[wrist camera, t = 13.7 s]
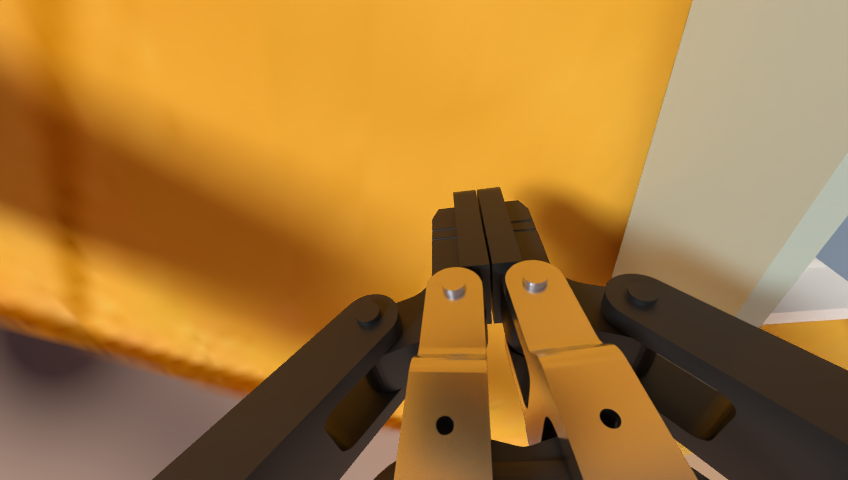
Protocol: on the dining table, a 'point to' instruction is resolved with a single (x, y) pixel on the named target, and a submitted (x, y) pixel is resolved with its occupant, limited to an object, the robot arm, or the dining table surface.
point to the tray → (749, 162)
